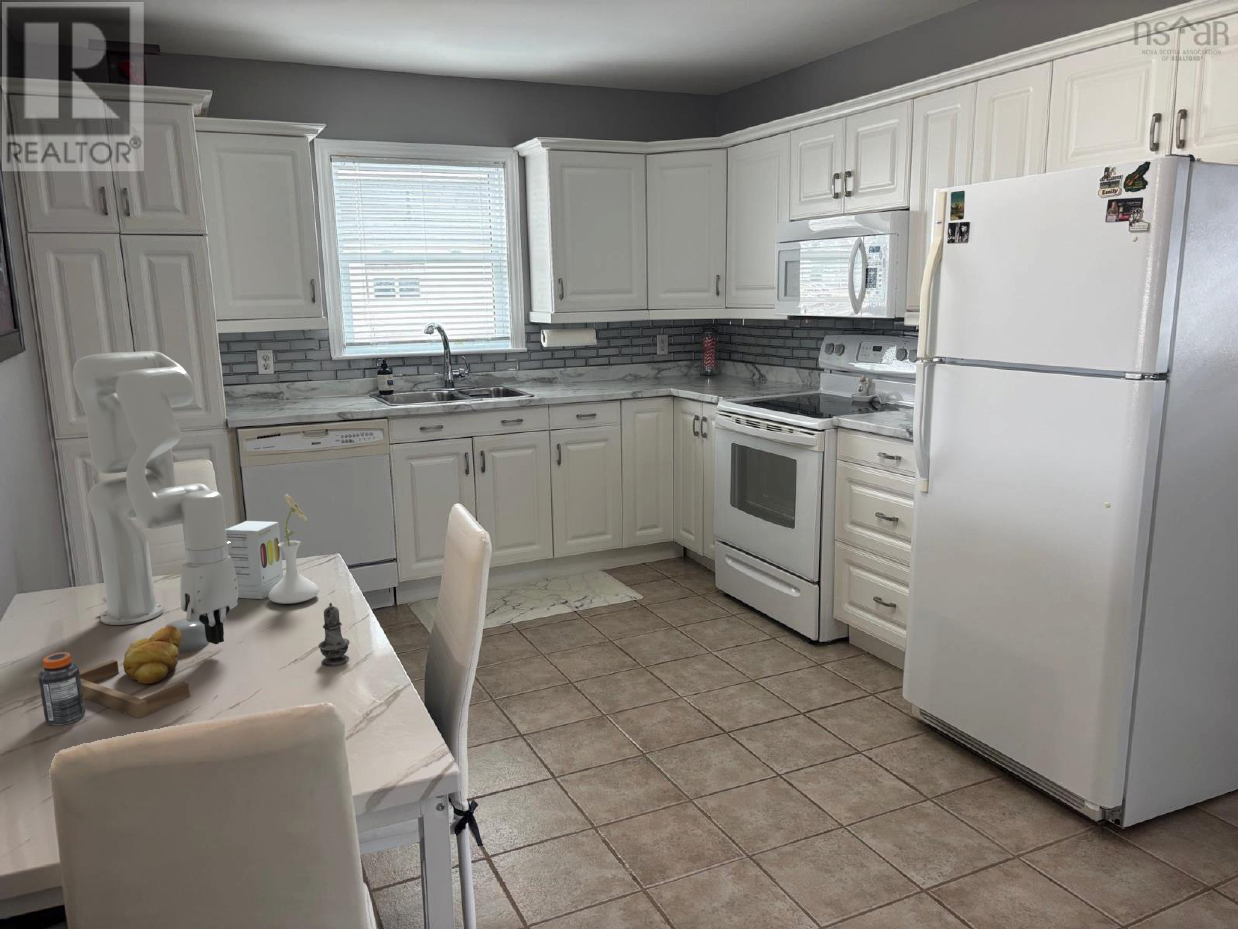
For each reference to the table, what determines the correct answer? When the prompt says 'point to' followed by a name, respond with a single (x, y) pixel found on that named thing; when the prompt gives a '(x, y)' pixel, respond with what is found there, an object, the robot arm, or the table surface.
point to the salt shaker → (333, 639)
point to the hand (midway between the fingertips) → (215, 641)
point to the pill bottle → (61, 690)
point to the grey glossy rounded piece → (190, 635)
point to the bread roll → (153, 656)
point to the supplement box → (255, 557)
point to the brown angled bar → (124, 700)
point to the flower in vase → (292, 569)
